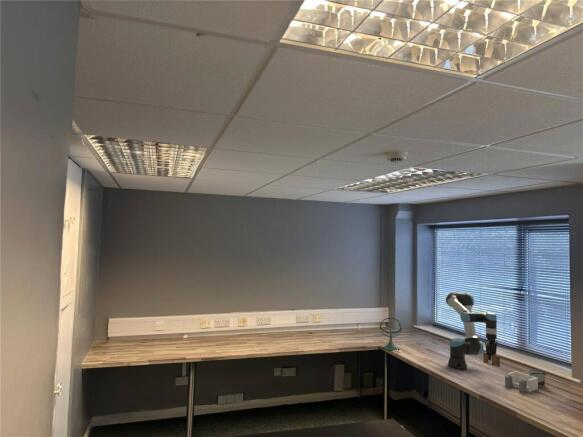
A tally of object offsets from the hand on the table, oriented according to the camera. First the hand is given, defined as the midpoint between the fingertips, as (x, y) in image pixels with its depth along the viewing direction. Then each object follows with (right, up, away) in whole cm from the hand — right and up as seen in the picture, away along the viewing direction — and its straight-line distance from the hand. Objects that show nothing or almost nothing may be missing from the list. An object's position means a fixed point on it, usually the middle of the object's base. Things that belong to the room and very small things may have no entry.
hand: (491, 363), depth 287 cm
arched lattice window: (+30, -13, -7) cm, 34 cm away
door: (0, -1, 0) cm, 1 cm away
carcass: (+14, -12, -14) cm, 23 cm away
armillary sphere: (-57, -17, +80) cm, 100 cm away
